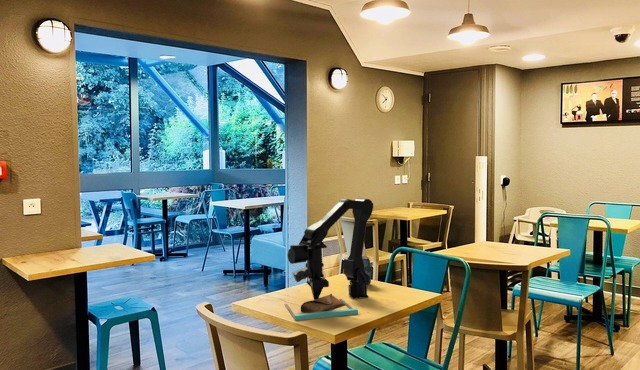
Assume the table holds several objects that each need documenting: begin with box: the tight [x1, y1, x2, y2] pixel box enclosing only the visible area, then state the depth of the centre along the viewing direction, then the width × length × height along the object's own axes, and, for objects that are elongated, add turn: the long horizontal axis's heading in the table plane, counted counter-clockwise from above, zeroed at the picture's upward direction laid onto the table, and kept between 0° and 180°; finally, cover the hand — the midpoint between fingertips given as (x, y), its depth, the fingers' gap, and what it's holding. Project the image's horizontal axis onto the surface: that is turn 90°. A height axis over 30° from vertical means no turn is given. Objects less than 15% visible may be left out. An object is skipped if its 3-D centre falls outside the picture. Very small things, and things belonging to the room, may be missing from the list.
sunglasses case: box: [300, 293, 346, 314], centre depth 200 cm, size 18×7×7 cm
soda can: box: [362, 256, 372, 287], centre depth 234 cm, size 7×7×12 cm
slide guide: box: [284, 298, 359, 321], centre depth 199 cm, size 23×20×2 cm
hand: (315, 300), depth 204 cm, fingers closed
